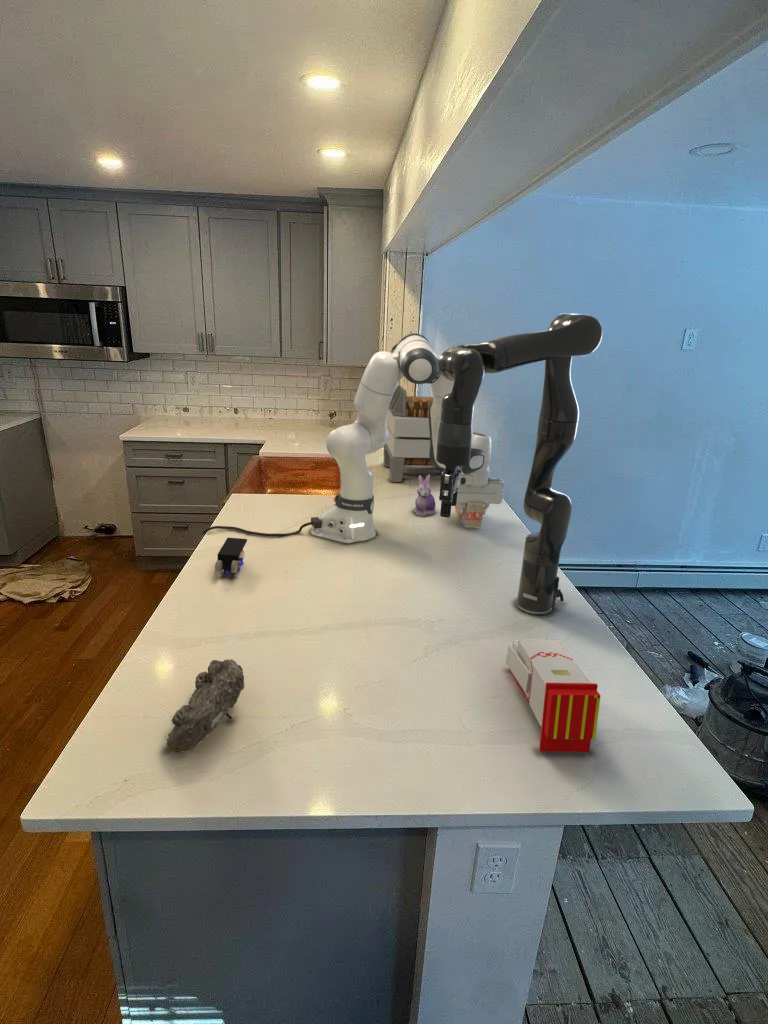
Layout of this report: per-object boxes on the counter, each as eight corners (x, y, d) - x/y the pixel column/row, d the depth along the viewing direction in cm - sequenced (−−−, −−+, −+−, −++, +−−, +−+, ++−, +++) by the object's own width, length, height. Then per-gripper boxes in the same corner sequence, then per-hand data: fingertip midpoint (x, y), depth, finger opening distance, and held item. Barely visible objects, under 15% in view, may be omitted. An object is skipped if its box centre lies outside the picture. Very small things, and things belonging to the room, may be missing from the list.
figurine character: (238, 584, 162) (249, 557, 175) (236, 562, 158) (247, 536, 172) (215, 584, 161) (227, 556, 175) (212, 561, 158) (225, 535, 171)
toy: (554, 622, 128) (610, 691, 98) (548, 677, 130) (601, 759, 101) (501, 621, 127) (541, 690, 98) (496, 676, 130) (534, 758, 101)
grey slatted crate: (382, 463, 289) (386, 382, 275) (445, 464, 293) (451, 384, 279) (390, 482, 257) (394, 392, 243) (460, 483, 261) (468, 394, 247)
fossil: (192, 660, 117) (244, 628, 112) (224, 691, 120) (276, 661, 115) (142, 746, 98) (202, 712, 93) (182, 779, 101) (242, 748, 96)
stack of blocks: (481, 528, 205) (485, 496, 201) (464, 527, 205) (467, 495, 200) (469, 508, 225) (472, 478, 221) (454, 508, 225) (457, 478, 221)
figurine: (420, 518, 216) (423, 480, 210) (407, 509, 224) (409, 473, 219) (441, 515, 220) (444, 477, 215) (427, 506, 228) (430, 470, 223)
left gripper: (502, 476, 206) (498, 511, 210) (446, 474, 204) (443, 510, 209) (506, 481, 200) (502, 517, 204) (449, 479, 198) (446, 516, 203)
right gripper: (466, 450, 118) (460, 523, 123) (475, 437, 130) (469, 503, 136) (431, 446, 119) (426, 518, 125) (443, 433, 132) (438, 499, 138)
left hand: (472, 514), depth 207 cm, fingers closed on stack of blocks, 6 cm apart
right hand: (448, 510), depth 130 cm, fingers open, 8 cm apart
